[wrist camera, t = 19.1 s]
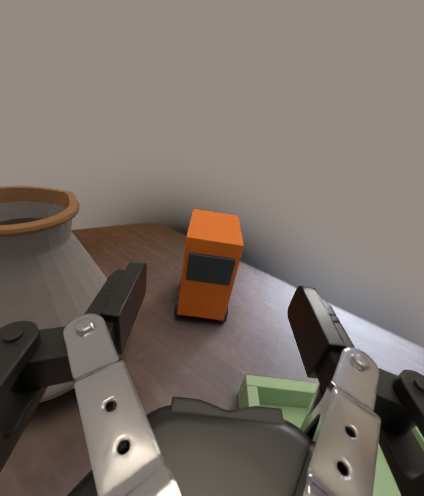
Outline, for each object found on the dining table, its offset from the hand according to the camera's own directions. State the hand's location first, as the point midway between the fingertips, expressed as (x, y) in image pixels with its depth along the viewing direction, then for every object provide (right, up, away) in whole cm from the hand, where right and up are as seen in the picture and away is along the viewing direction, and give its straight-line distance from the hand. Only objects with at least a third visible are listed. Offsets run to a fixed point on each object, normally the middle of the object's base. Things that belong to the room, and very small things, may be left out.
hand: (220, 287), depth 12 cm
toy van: (-2, -4, +15) cm, 15 cm away
